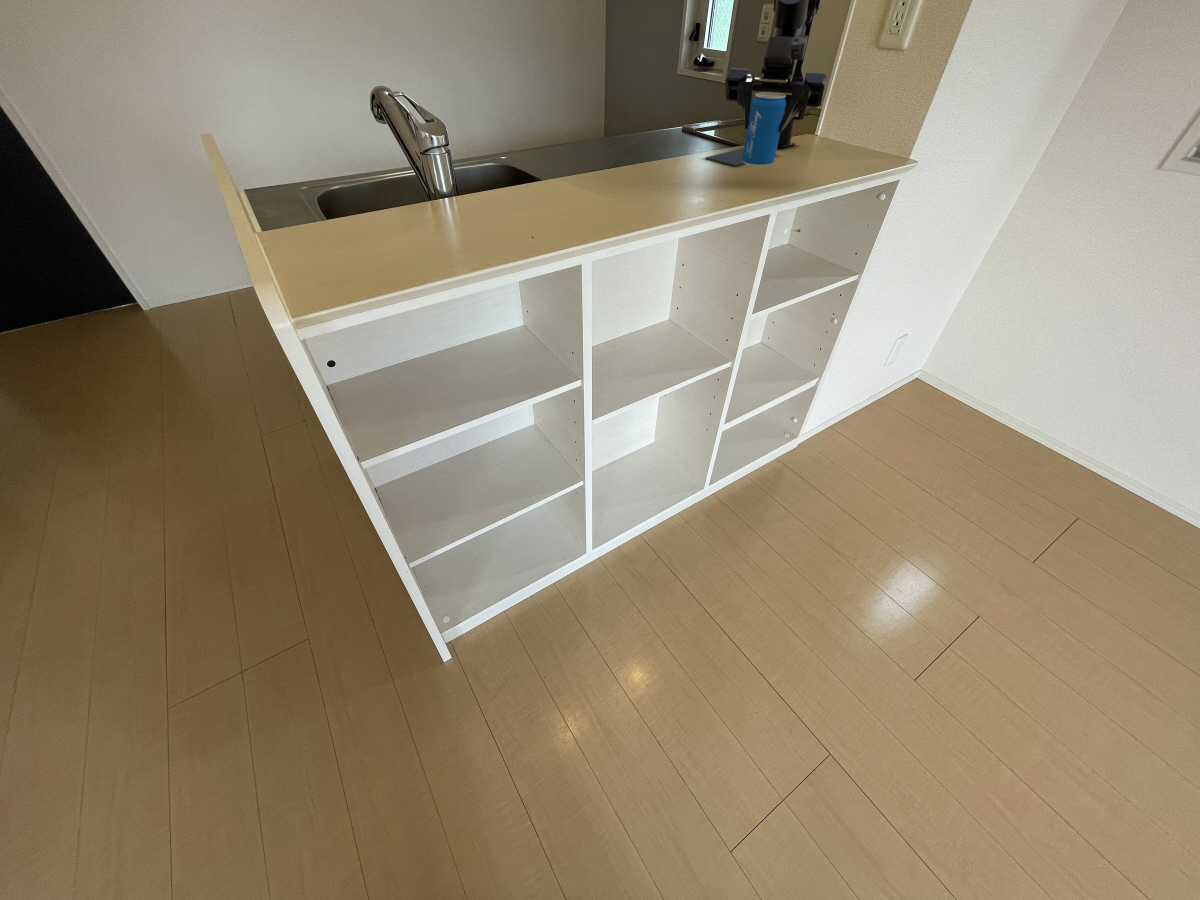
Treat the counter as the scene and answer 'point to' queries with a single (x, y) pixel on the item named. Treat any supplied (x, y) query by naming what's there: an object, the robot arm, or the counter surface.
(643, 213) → the counter surface
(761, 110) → the beverage can
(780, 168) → the counter surface
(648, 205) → the counter surface
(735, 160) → the mat
